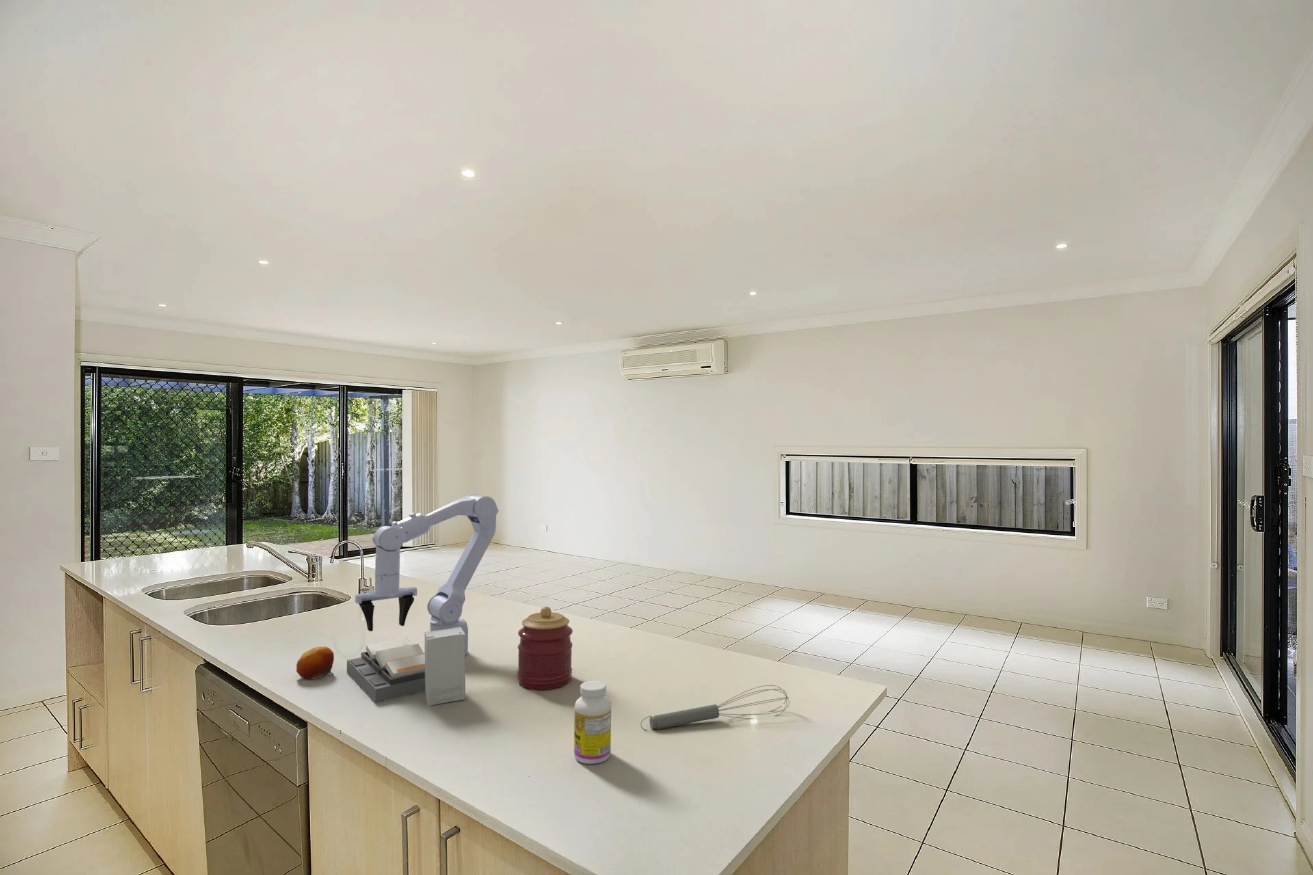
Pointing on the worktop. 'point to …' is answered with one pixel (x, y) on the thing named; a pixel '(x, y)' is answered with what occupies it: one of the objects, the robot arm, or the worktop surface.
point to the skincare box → (444, 666)
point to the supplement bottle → (592, 724)
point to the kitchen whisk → (702, 713)
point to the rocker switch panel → (382, 680)
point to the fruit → (315, 663)
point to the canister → (544, 651)
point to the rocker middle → (397, 654)
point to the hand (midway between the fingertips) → (386, 627)
